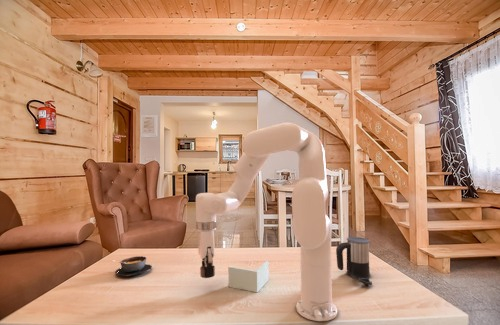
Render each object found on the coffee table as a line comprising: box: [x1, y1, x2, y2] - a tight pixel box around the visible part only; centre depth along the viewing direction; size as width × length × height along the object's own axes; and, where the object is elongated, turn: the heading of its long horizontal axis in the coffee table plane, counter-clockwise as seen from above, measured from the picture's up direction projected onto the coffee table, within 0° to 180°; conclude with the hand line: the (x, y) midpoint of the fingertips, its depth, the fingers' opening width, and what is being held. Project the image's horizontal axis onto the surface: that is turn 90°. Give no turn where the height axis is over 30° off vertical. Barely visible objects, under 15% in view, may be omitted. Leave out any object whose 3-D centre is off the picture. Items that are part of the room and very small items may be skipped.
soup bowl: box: [111, 255, 153, 278], centre depth 117 cm, size 15×16×7 cm
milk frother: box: [335, 236, 373, 287], centre depth 108 cm, size 14×16×15 cm
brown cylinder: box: [199, 264, 216, 279], centre depth 100 cm, size 5×5×3 cm
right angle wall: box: [227, 260, 270, 293], centre depth 105 cm, size 12×12×8 cm
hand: (207, 273), depth 100 cm, fingers closed on brown cylinder, 5 cm apart
